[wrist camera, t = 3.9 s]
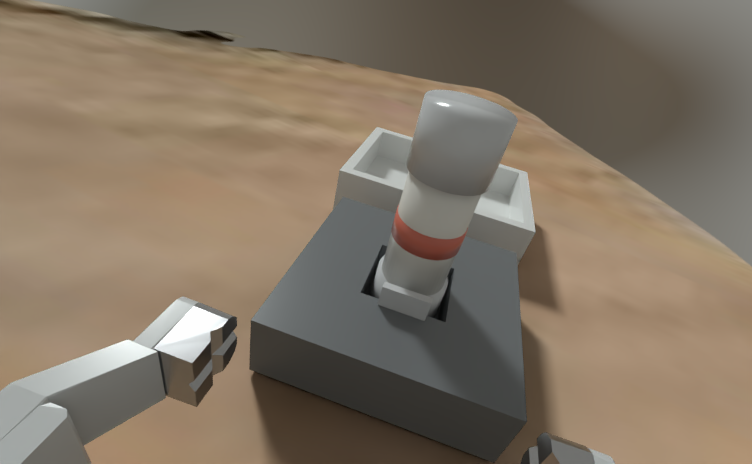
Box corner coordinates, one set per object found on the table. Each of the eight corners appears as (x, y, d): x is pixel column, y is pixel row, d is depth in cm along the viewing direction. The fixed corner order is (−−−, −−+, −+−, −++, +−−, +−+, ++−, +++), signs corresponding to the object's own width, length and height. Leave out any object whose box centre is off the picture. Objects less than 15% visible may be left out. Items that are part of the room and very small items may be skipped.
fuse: (358, 323, 21) (417, 105, 14) (377, 280, 24) (431, 83, 17) (426, 347, 21) (519, 135, 14) (436, 300, 24) (516, 107, 17)
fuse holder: (249, 369, 19) (251, 300, 16) (335, 237, 29) (345, 181, 26) (494, 462, 18) (540, 405, 15) (496, 291, 27) (524, 238, 25)
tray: (333, 208, 32) (339, 170, 30) (370, 159, 41) (377, 126, 39) (515, 268, 30) (535, 232, 28) (512, 203, 39) (527, 172, 37)
